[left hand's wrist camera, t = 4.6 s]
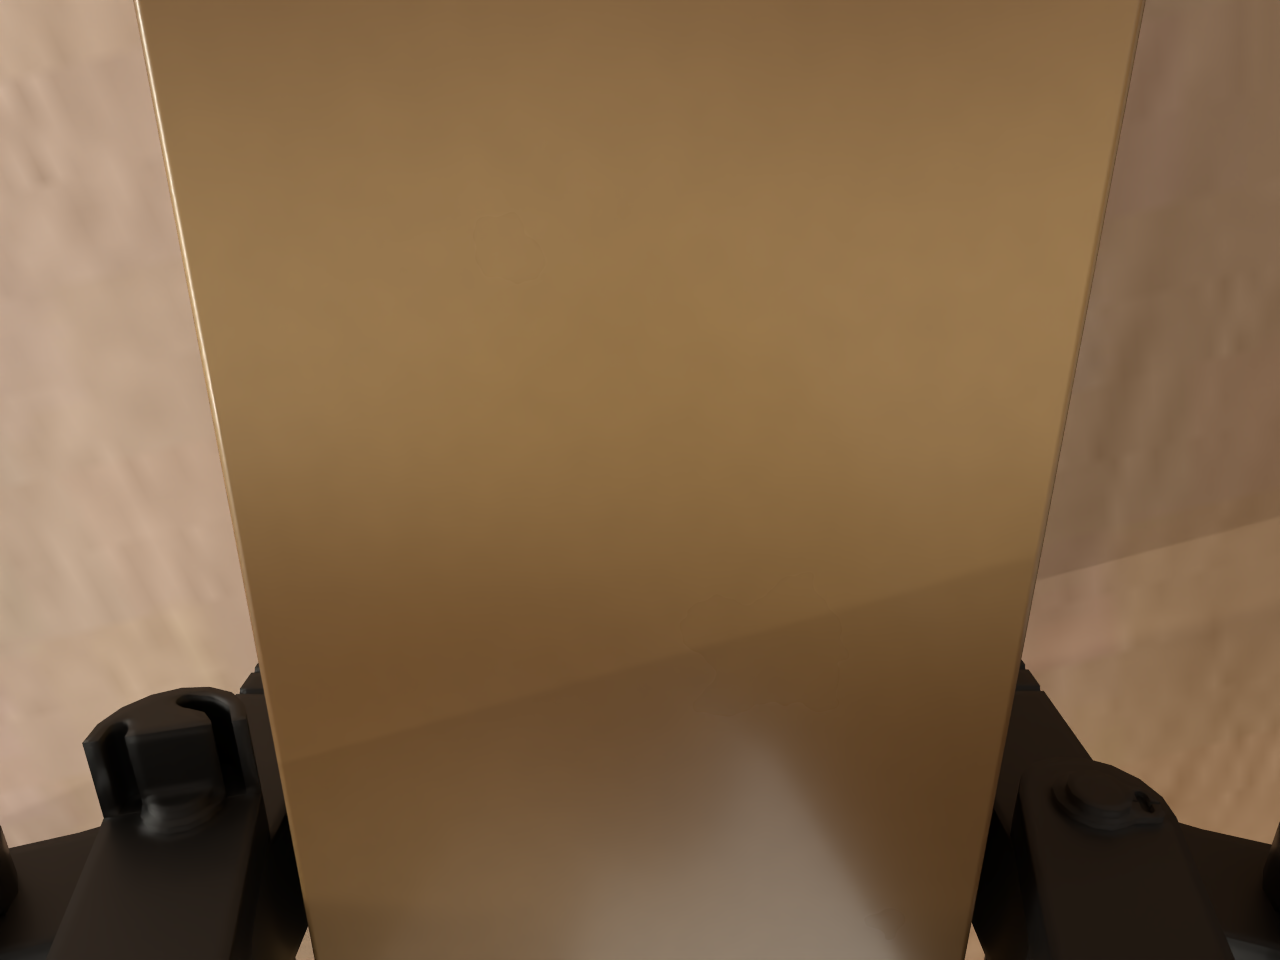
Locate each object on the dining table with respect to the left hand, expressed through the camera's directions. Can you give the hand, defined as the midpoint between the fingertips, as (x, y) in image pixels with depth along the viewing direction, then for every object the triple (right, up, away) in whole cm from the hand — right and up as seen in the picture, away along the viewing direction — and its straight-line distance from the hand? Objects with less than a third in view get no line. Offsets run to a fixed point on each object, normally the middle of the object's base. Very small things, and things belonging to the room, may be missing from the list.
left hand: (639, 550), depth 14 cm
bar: (0, +7, -2) cm, 7 cm away
